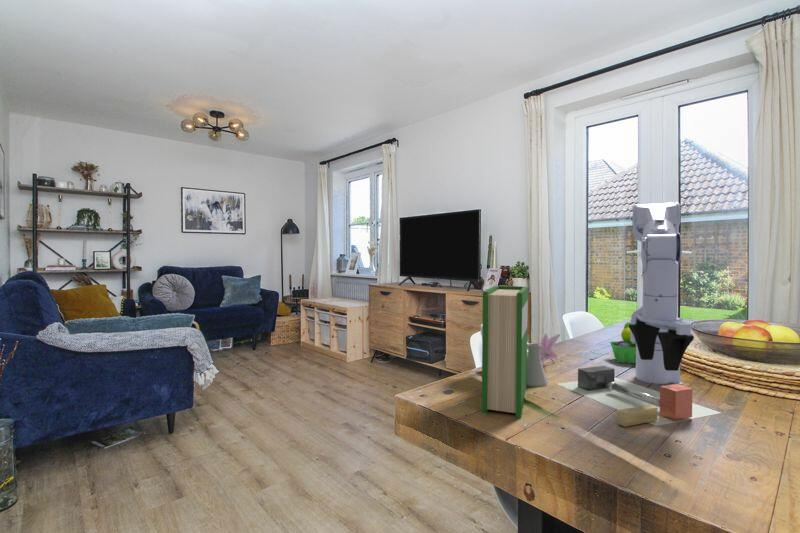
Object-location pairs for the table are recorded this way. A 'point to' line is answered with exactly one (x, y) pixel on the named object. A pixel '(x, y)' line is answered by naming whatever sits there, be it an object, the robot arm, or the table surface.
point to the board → (633, 400)
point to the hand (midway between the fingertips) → (658, 364)
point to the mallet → (664, 399)
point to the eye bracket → (595, 377)
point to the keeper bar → (637, 415)
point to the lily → (547, 348)
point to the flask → (535, 366)
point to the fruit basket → (625, 347)
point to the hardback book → (504, 349)
